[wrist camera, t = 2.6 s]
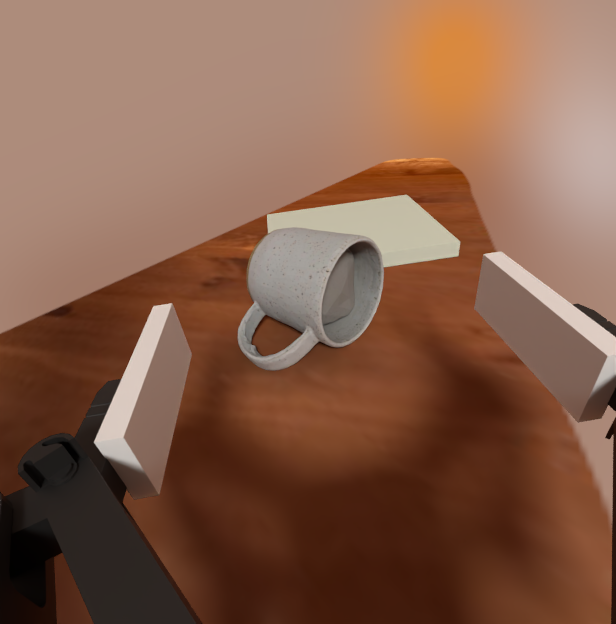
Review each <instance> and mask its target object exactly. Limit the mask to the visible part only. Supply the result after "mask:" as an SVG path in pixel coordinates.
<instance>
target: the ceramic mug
mask: <svg viewBox="0 0 616 624" xmlns="http://www.w3.org/2000/svg"><path fill="white" fill-rule="evenodd" d="M383 279H384V267H383V261H382V255H381V252H380V250H379V248H378V246H377V245H376V244H375V242H374V241H373V240H371V239H370V238H368V237H365V236H361V235H354V234H344V233H336V232H328V231H319V230H312V229H307V228H297V227H292V228H282V229H277V230H274V231H272V232H270V233H269V234H267V235H265V236H264V237H263V238H262V239H261V240H260V241H259V242H258V244H257V245H256V246H255V248H254V250H253V252H252V254H251V256H250V259H249V263H248V267H247V288H248V292H249V294H250V297H251V298H252V300H253V302H254V304H253V305H252V306H251V307H250V309H249V310H248V311H247V313H246V314H245V316H244V317H243V319H242V321H241V324H240V326H239V329H238V344H239V347H240V349H241V350H242V352H243V353H244V354H245V355H246V356H247V357H248V358H249V359H250V360H251V361H252V362H253V363H254V364H255V365H256V366H258V367H260V368H263V369H265V370H280V369H284V368H287V367H289V366H291V365H294V364H295V363H297V362H298V361H299V360H300V359H302V358H303V357H304V356H305V355H306V354H307V353H308V352H309V351H310V350H311V349H312V348H313V347H314V346H315V345H316V344H317V343H318V342H322V343H324V344H326V345H328V346H331V347H344V346H346V345H348V344H351V343H352V342H353V341H355V340H356V339H357V338H358V337H359V336H360V335H361V334H362V333H363V332H364V331H365V330H366V328H367V327H368V325H369V324H370V322H371V321H372V318H373V316H374V314H375V312H376V310H377V307H378V305H379V302H380V298H381V293H382V289H383ZM265 315H268V316H270V317H272V318H274V319H276V320H278V321H280V322H282V323H285V324H287V325H289V326H291V327H293V328H295V329H296V330H298V331H300V332H302V333H303V334H302V335H301V336H300V337H299V338H298V339H296V340H295V341H294V342H293V343H292V344H291V345H289V346H288V347H287V348H285V349H284V350H282V351H280V352H278V353H276V354H273V355H269V356H266V357H265V356H261V355H260V354H259V353H258V352H257V350H256V347H255V346H254V345H252V344H251V340H252V336H253V333H254V332H255V328H256V327H257V325H258V324H259V322H260V321H261V320H262V318H263V317H264V316H265Z"/></svg>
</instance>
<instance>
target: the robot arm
mask: <svg viewBox="0 0 616 624" xmlns="http://www.w3.org/2000/svg"><path fill="white" fill-rule="evenodd" d="M474 309H475V310H476V311H477V312H478V313H479V314H480V315H481V316H482V317H483V318H484V320H485V321H486V322H487V323H488V324H489V325H490V326H491V327H492V328H493V330H494V331H495V332H496V333H497V334H498V335H499V336H500V337H501V338H502V339H503V341H504V342H505V343H506V344H507V345H508V346H509V347H510V348H511V349H512V350H513V352H514V353H515V354H516V355H517V356H518V357H519V358H520V359H521V360H522V361H523V363H524V364H525V365H526V366H527V367H528V368H529V369H530V370H531V371H532V372H533V374H534V375H535V376H536V377H537V378H538V379H539V380H540V381H541V382H542V383H543V385H544V386H545V387H546V388H547V389H548V390H549V391H550V392H551V393H552V395H553V396H554V397H555V398H556V399H557V400H558V401H559V402H560V403H561V404H562V406H563V407H564V408H565V409H566V410H567V411H568V412H569V413H570V414H571V415H572V417H573V418H574V419H575V420H576V421H577V422H583V421H590V420H595V419H600V418H602V416H603V414H604V412H605V410H606V408H607V406H608V405H609V406H610V407H611V408H613V410H615V411H616V326H615V325H613V324H612V323H611V322H610V321H608V322H607V319H605V318H604V317H602V316H601V315H600V314H598V313H597V312H596V311H594V310H592V309H589V308H587V307H584V306H582V305H580V304H574V305H572V304H571V303H569V302H568V301H566V300H565V299H564V298H563V297H561V296H560V295H559V294H557V293H556V292H554V291H553V290H552V289H551V288H549V287H548V286H547V285H545V284H544V283H542V282H541V281H540V280H539V279H537V278H536V277H534V276H533V275H532V274H531V273H529V272H528V271H526V270H525V269H524V268H522V267H521V266H520V265H518V264H517V263H516V262H514V261H513V260H512V259H510V258H509V257H508V256H506V255H505V254H504V253H502V252H495V253H489V254H483V260H482V266H481V272H480V278H479V284H478V290H477V296H476V302H475V308H474ZM191 355H192V354H191V351H190V348H189V346H188V343H187V340H186V338H185V335H184V333H183V330H182V327H181V325H180V322H179V319H178V317H177V314H176V312H175V309H174V306H173V304H172V303H171V304H164V305H158V306H153V309H152V311H151V313H150V316H149V318H148V320H147V322H146V325H145V327H144V329H143V331H142V334H141V336H140V338H139V341H138V343H137V345H136V347H135V350H134V352H133V354H132V357H131V359H130V361H129V363H128V366H127V368H126V370H125V372H124V375H123V377H122V379H118V380H112V381H108V382H107V383H106V384H105V385H104V386H103V387H102V388H101V389H100V390H99V391H98V392H97V394H96V396H95V398H94V400H93V402H92V404H91V408H89V410H88V412H87V414H86V418H84V420H83V422H82V424H81V426H80V428H79V430H78V432H77V434H76V436H75V438H74V437H73V436H72V435H70V434H65V433H60V434H56V435H52V436H49V437H47V438H45V439H43V440H41V441H39V442H38V443H37V444H35V445H34V446H33V447H31V448H30V449H29V450H28V451H27V453H26V454H25V455H24V456H23V457H22V459H21V461H20V463H19V465H18V474H19V475H20V476H21V477H22V478H23V479H24V480H25V481H26V482H27V484H28V485H29V486H28V487H26V488H24V489H21V490H19V491H17V492H14V493H12V494H10V495H7V496H4V495H3V494H2V493H1V492H0V624H57V619H56V596H55V573H54V556H56V555H58V554H61V553H63V555H64V557H65V559H66V561H67V564H68V566H69V568H70V571H71V573H72V575H73V577H74V580H75V582H76V584H77V586H78V589H79V591H80V593H81V595H82V598H83V600H84V602H85V604H86V607H87V609H88V611H89V613H90V616H91V618H92V620H93V623H94V624H202V622H201V621H200V619H199V618H198V616H197V615H196V613H195V611H194V610H193V608H192V607H191V605H190V604H189V602H188V601H187V599H186V598H185V596H184V595H183V593H182V592H181V590H180V589H179V587H178V586H177V584H176V583H175V581H174V580H173V578H172V577H171V575H170V574H169V572H168V571H167V569H166V567H165V566H164V564H163V563H162V561H161V560H160V558H159V557H158V555H157V554H156V552H155V551H154V549H153V548H152V546H151V545H150V543H149V542H148V540H147V539H146V537H145V536H144V534H143V533H142V531H141V530H140V528H139V527H138V525H137V523H136V522H135V520H134V519H133V517H132V516H131V514H130V513H129V511H128V510H127V508H126V507H125V505H124V504H123V503H122V502H123V499H124V496H125V492H126V489H127V490H128V492H129V493H130V495H131V496H132V498H133V499H140V498H146V497H151V496H157V495H159V494H160V490H161V485H162V481H163V477H164V472H165V468H166V464H167V459H168V455H169V451H170V446H171V442H172V438H173V433H174V429H175V425H176V420H177V416H178V412H179V407H180V403H181V399H182V394H183V390H184V386H185V381H186V377H187V373H188V368H189V364H190V360H191ZM613 434H614V444H613V445H614V447H613V451H614V452H613V526H612V608H611V624H616V418H615V420H614V421H613V424H612V425H611V427H610V429H609V431H608V433H607V435H606V438H607V439H610V438H611V436H612V435H613Z"/></svg>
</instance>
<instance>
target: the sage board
mask: <svg viewBox="0 0 616 624" xmlns="http://www.w3.org/2000/svg"><path fill="white" fill-rule="evenodd" d="M267 223H268V234H269V233H270V232H272V231H274V230H277V229H282V228H292V227H297V228H307V229H312V230H319V231H328V232H336V233H344V234H354V235H361V236H365V237H368V238H370V239H371V240H373V241H374V242H375V244H376V245H377V246H378V248H379V250H380V252H381V255H382V261H383V267H389V266H395V265H402V264H409V263H415V262H422V261H429V260H436V259H442V258H449V257H456V256H458V255H459V248H460V241H459V240H458V239H457V238H456V237H454V236H453V235H452V234H451V233H450V232H449V231H448V230H446V229H445V228H444V227H443V226H442V225H441V224H440V223H438V222H437V221H436V220H435V219H434V218H433V217H432V216H430V215H429V214H428V213H427V212H426V211H425V210H424V209H422V208H421V207H420V206H419V205H418V204H417V203H416V202H414V201H413V200H412V199H411V198H410V197H409V196H408V195H402V196H395V197H388V198H381V199H374V200H367V201H360V202H353V203H346V204H339V205H332V206H325V207H318V208H311V209H304V210H297V211H290V212H282V213H275V214H268V215H267Z"/></svg>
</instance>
